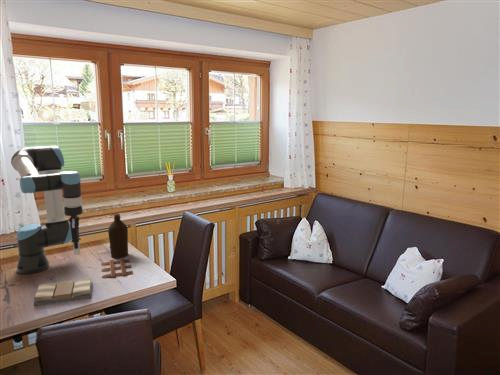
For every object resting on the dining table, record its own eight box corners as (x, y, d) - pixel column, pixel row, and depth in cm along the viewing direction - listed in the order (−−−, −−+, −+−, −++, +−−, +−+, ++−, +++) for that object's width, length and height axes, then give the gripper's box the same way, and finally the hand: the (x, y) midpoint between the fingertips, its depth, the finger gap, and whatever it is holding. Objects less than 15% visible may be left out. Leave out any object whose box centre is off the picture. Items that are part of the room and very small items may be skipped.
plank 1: (40, 288, 179) (39, 284, 179) (56, 286, 181) (56, 282, 181) (34, 301, 166) (34, 297, 166) (52, 299, 169) (52, 295, 168)
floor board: (39, 292, 179) (38, 285, 179) (92, 284, 187) (92, 278, 186) (33, 306, 166) (33, 298, 166) (91, 297, 174) (90, 290, 173)
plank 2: (75, 284, 184) (75, 280, 183) (91, 281, 186) (90, 277, 186) (73, 297, 171) (72, 292, 171) (89, 293, 173) (89, 289, 173)
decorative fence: (129, 260, 219) (101, 264, 214) (129, 257, 219) (100, 261, 214) (133, 276, 198) (102, 280, 193) (133, 273, 198) (101, 277, 193)
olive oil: (133, 253, 228) (130, 212, 223) (121, 259, 218) (118, 217, 214) (118, 251, 232) (115, 210, 227) (106, 257, 222) (102, 215, 217)
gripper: (65, 202, 179) (69, 250, 185) (62, 210, 167) (66, 260, 173) (82, 201, 182) (86, 248, 187) (81, 208, 170) (85, 258, 175)
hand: (77, 254), depth 180 cm, fingers closed
